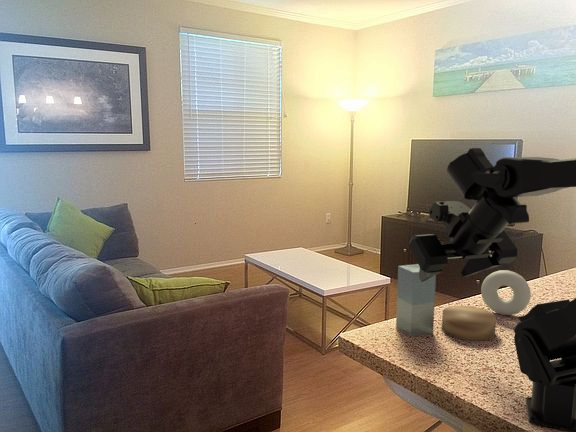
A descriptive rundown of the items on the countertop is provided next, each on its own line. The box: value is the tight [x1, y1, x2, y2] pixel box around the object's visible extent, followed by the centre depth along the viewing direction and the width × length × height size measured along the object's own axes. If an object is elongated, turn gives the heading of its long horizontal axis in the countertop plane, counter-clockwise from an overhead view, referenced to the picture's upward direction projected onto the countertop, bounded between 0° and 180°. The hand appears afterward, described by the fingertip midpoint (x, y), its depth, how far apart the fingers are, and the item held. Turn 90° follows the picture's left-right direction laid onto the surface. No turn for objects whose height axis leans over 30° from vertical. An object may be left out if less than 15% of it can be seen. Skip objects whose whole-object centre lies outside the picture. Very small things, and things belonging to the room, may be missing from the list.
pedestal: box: [441, 305, 497, 342], centre depth 95 cm, size 10×10×4 cm
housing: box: [395, 263, 437, 338], centre depth 94 cm, size 5×5×13 cm
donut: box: [480, 269, 532, 316], centre depth 104 cm, size 10×4×10 cm, turn 59°
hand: (442, 277), depth 86 cm, fingers open, 9 cm apart
